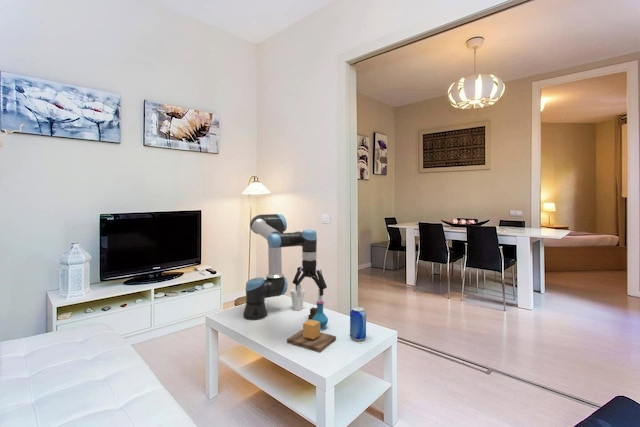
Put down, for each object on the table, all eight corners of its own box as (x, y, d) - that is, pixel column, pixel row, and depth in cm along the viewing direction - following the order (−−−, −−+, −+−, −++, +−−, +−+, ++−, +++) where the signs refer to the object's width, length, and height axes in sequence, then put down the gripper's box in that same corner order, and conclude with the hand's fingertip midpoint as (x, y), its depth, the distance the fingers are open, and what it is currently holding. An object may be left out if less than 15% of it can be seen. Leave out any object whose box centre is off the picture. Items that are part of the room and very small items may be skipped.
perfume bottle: (308, 326, 180) (308, 301, 180) (321, 322, 186) (321, 298, 186) (319, 331, 173) (319, 305, 173) (331, 327, 179) (331, 301, 179)
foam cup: (288, 309, 209) (287, 290, 209) (296, 306, 217) (296, 287, 216) (298, 312, 204) (298, 293, 203) (307, 308, 211) (307, 289, 211)
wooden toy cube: (302, 336, 160) (302, 323, 160) (309, 332, 166) (309, 319, 165) (313, 339, 157) (313, 325, 156) (320, 334, 162) (320, 321, 162)
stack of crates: (319, 326, 183) (319, 314, 182) (299, 321, 190) (299, 310, 190) (332, 318, 196) (332, 307, 195) (312, 313, 203) (312, 303, 203)
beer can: (369, 338, 165) (369, 308, 165) (360, 343, 159) (360, 312, 158) (356, 333, 171) (356, 304, 170) (346, 338, 165) (346, 308, 164)
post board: (286, 342, 160) (286, 325, 159) (304, 331, 173) (304, 315, 173) (319, 352, 149) (319, 334, 149) (335, 340, 163) (335, 323, 162)
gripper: (286, 258, 166) (286, 296, 167) (326, 263, 153) (325, 305, 154) (294, 255, 173) (294, 293, 174) (333, 260, 159) (333, 301, 160)
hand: (309, 299), depth 164 cm, fingers open, 13 cm apart
